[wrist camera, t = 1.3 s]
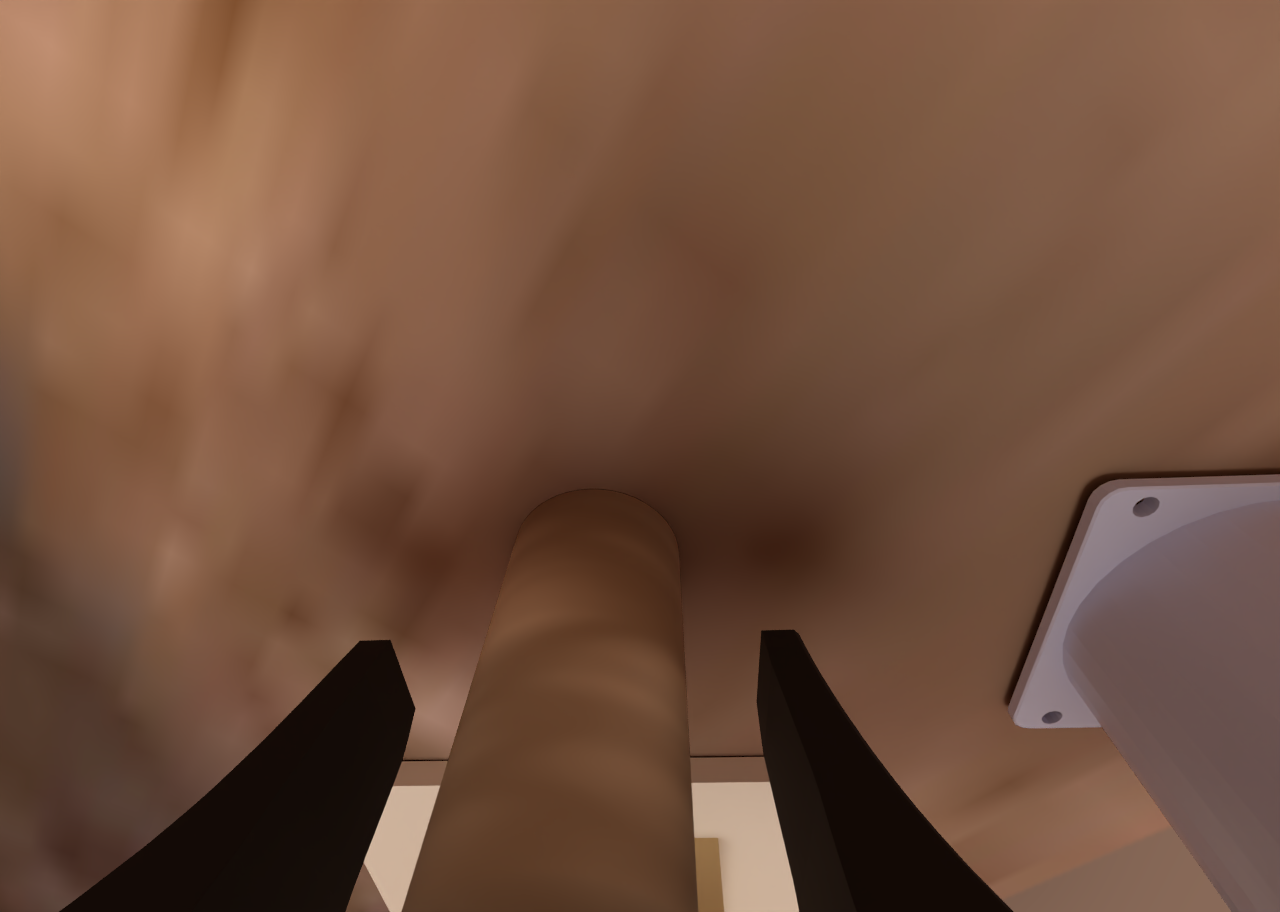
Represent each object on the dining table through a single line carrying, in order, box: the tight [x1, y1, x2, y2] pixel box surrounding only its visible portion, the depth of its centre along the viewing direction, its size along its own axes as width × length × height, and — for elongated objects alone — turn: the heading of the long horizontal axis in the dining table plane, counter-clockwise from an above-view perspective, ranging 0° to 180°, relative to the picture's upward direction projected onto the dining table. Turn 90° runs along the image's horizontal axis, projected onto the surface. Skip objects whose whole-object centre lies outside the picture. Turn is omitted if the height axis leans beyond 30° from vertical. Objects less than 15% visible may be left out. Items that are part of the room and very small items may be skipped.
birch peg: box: [401, 489, 698, 912], centre depth 12 cm, size 4×4×8 cm
